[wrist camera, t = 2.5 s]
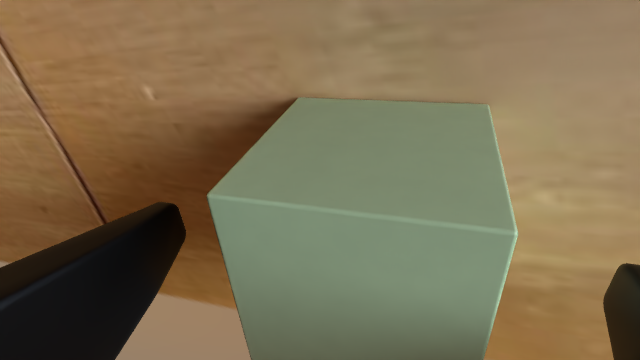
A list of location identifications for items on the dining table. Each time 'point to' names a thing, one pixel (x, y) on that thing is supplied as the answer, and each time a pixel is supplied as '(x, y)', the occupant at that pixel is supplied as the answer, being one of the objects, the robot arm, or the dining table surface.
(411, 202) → the block
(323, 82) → the dining table surface
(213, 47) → the dining table surface
